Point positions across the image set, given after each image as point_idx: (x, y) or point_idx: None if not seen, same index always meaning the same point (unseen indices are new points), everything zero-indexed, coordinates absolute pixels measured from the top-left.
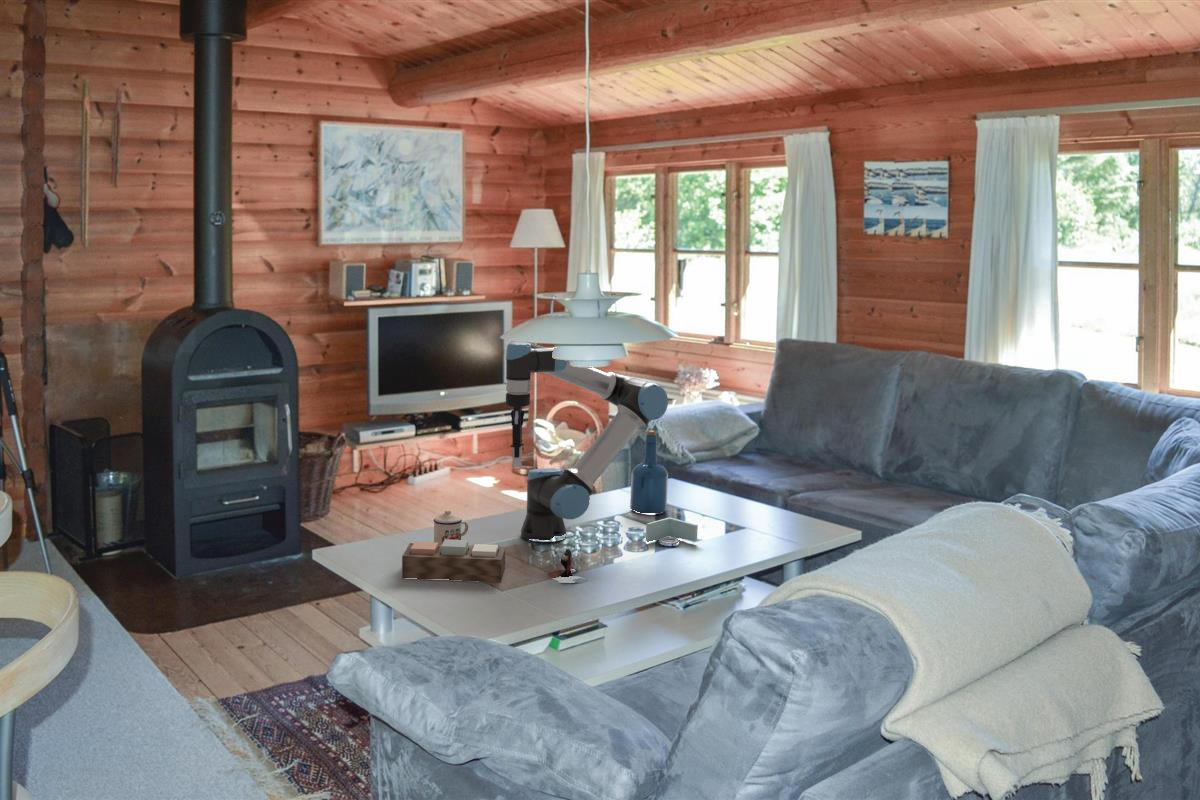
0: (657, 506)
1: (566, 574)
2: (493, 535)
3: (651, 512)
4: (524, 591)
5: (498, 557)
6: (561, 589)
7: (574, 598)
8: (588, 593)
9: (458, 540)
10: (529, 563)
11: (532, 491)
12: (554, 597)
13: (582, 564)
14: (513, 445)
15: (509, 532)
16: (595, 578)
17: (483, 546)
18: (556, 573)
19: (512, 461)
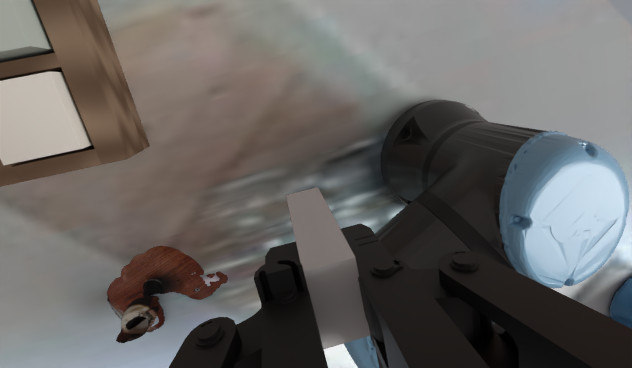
0: None
1: (143, 296)
2: (416, 27)
3: (613, 317)
4: (6, 240)
5: (7, 173)
6: (67, 304)
7: (24, 343)
8: (72, 355)
9: (5, 10)
10: (217, 187)
11: (468, 167)
12: (5, 308)
13: (256, 291)
14: (190, 346)
15: (450, 62)
16: (175, 338)
17: (38, 109)
18: (166, 265)
19: (289, 210)
